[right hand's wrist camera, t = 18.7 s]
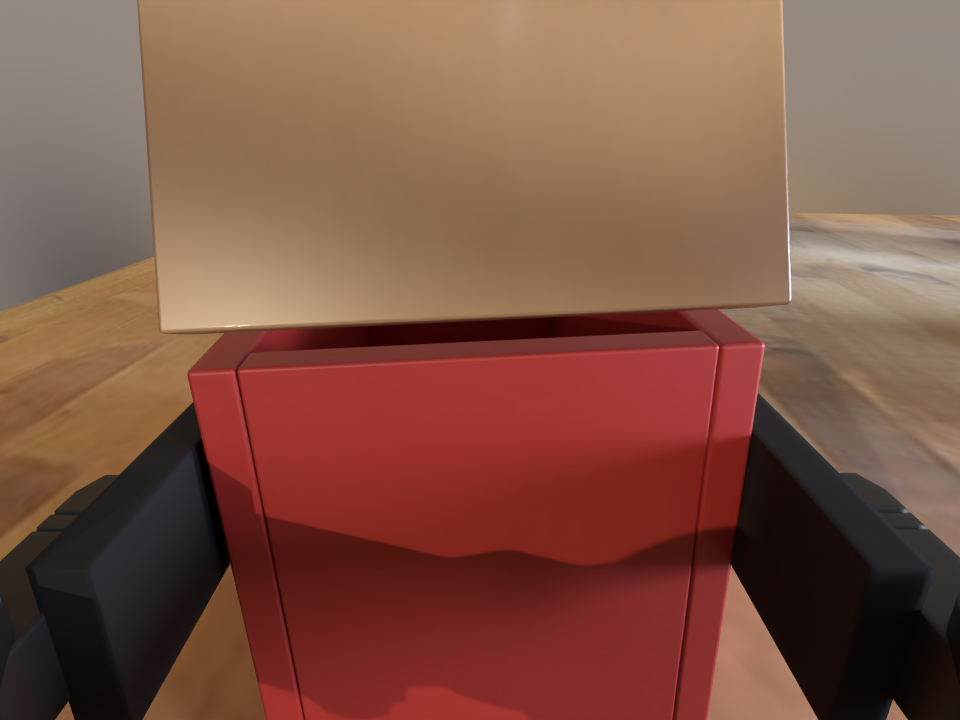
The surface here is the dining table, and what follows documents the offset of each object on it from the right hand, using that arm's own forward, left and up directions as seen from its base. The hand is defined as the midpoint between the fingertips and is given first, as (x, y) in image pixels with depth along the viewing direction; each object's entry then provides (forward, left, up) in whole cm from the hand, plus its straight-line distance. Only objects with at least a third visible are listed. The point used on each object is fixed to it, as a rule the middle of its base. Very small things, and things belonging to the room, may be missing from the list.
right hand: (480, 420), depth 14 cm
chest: (+2, -4, -6) cm, 8 cm away
